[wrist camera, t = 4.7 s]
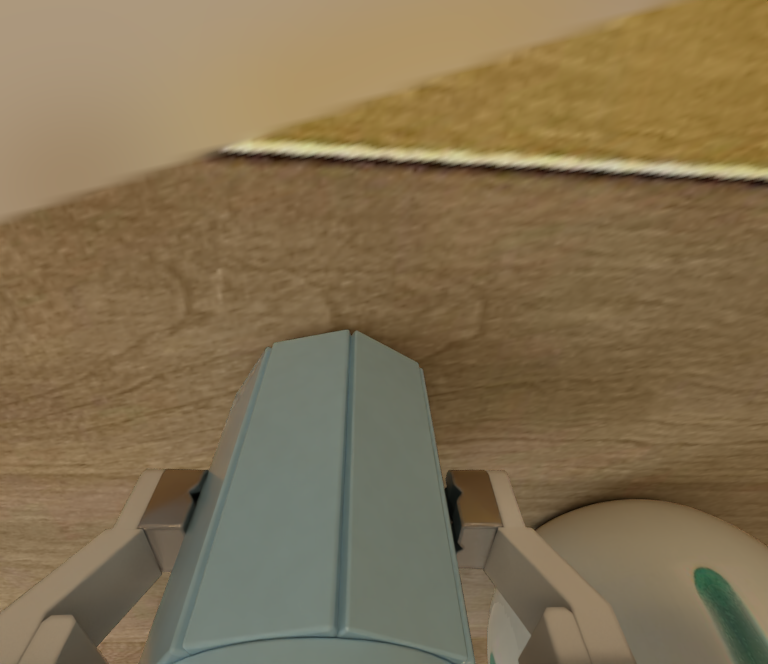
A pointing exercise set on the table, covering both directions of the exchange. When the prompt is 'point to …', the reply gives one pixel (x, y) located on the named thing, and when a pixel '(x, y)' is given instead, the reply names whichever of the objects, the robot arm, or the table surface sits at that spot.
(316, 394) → the blue cup
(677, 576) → the vase
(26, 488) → the table surface
